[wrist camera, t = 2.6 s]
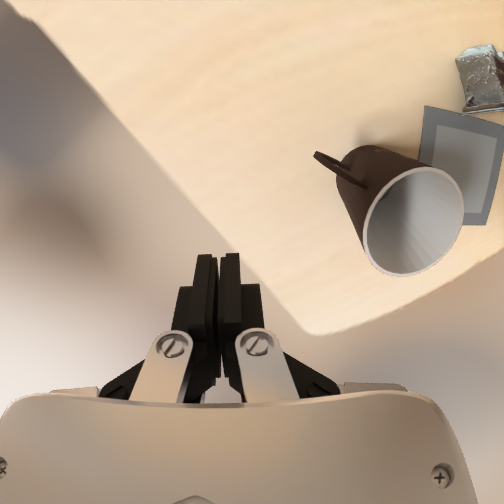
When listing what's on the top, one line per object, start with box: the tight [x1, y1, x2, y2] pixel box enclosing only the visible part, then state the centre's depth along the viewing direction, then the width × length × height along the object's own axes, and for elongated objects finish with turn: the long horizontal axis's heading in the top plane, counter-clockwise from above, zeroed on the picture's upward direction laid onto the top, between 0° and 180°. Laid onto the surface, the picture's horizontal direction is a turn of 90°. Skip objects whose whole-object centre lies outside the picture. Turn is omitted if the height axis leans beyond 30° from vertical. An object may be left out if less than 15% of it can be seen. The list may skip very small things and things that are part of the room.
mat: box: [418, 106, 504, 225], centre depth 27 cm, size 13×13×1 cm
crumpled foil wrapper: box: [456, 44, 504, 116], centre depth 19 cm, size 10×7×12 cm
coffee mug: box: [313, 145, 464, 277], centre depth 23 cm, size 12×9×10 cm
